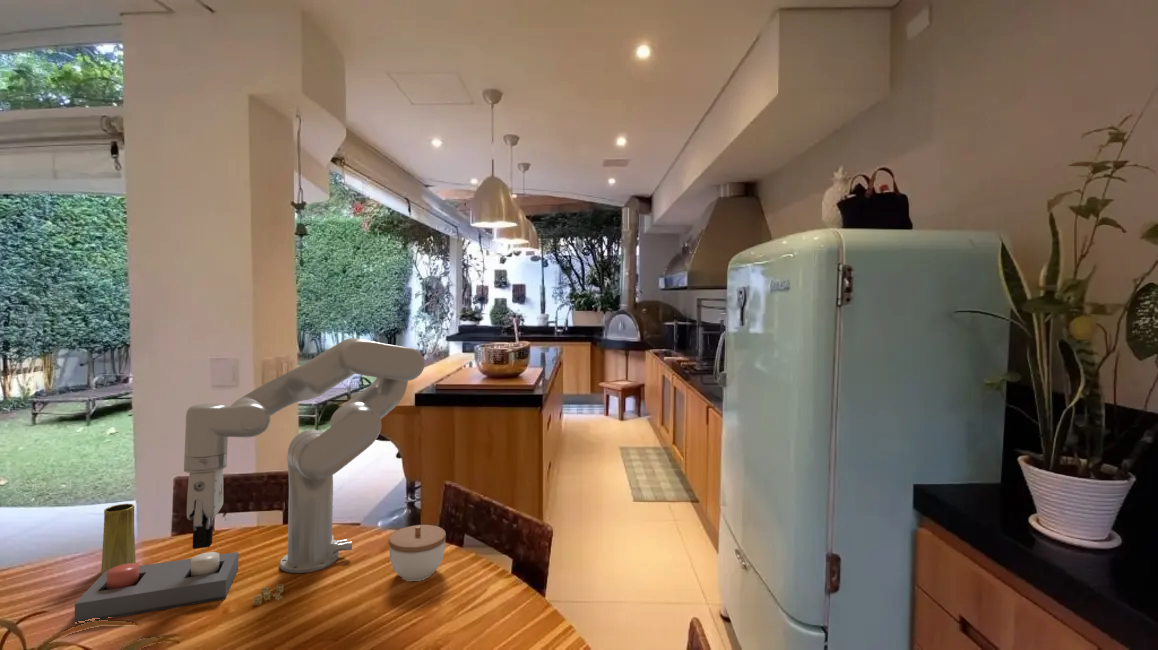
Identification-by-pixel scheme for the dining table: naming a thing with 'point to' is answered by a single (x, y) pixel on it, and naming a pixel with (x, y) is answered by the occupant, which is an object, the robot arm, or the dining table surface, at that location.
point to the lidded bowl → (417, 551)
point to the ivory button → (205, 564)
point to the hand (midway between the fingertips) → (202, 546)
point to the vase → (118, 536)
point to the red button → (123, 576)
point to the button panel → (158, 589)
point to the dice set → (269, 594)
